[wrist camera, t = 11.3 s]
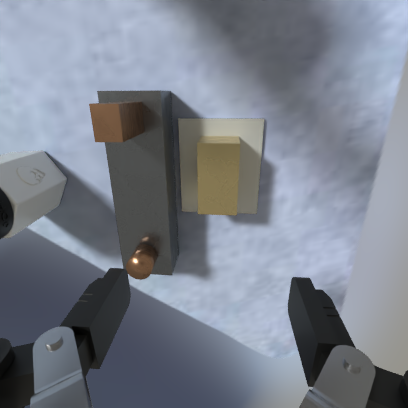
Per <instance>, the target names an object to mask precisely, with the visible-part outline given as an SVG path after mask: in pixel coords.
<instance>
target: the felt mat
mask: <svg viewBox="0 0 408 408" xmlns="http://www.w3.org/2000/svg"><path fill="white" fill-rule="evenodd" d="M178 127H179V151H180V176H181V200H182V212H198V178H197V142H198V141H199V139H200V138H201V136H239V140H240V160H239V180H238V200H237V213H244V214H257V205H258V192H259V180H260V167H261V154H262V141H263V129H264V119H203V118H179V119H178Z"/></svg>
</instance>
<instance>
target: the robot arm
mask: <svg viewBox="0 0 408 408" xmlns="http://www.w3.org/2000/svg"><path fill="white" fill-rule="evenodd" d="M129 303H130V287H129V280H128V273H127V270H126V269H119V268H110V269H109V270H108V271H107V273H106V275H105V276H104V278H98V279H97V280H95V281H94V282H93V283H91V284H90V285H89V286H88V288H87V289H86V290H85V292H84V293H83V295H82V296H81V297H80V298H79V301H78V302H77V303H76V304H75V305H74V307H73V308H72V310H71V311H70V312H69V314H68V315H67V317H66V318H65V319H64V321H63V322H62V324H61V325H60V326H59V327H57V328H53V329H51V330H49V331H47V332H45V333H44V334H42V335H41V336H40V337H39V338H38V339H37V341H36V342H35V343H30V344H26V345H21V346H16V347H12V346H11V343H10V341H9V340H7V339H3V338H0V408H24V407H25V406H26V405H30V407H31V408H93V407H92V403H91V398H90V393H89V389H88V385H87V380H86V375H87V373H88V371H89V369H90V368H93V369H100V367H101V364H102V362H103V360H104V358H105V356H106V354H107V352H108V349H109V347H110V345H111V343H112V341H113V338H114V336H115V334H116V332H117V330H118V328H119V326H120V323H121V321H122V319H123V317H124V315H125V312H126V311H127V308H128V306H129ZM288 313H289V318H290V322H291V325H292V329H293V333H294V336H295V340H296V344H297V347H298V351H299V354H300V358H301V361H302V366H303V369H304V373H305V377H306V380H307V384H308V386H309V387H313V389H312V390H309V391H308V392H307V394H306V396H305V398H304V399H303V401H302V403H301V405H300V407H299V408H408V371H406V373H405V374H404V376H401V375H398V374H396V373H392V372H390V371H387V370H384V369H381V368H379V367H377V366H374V365H373V363H372V361H371V360H370V359H369V358H368V357H367V356H366V355H365V354H364V353H363V352H361V351H360V350H358V349H356V348H355V346H354V344H353V342H352V340H351V338H350V336H349V334H348V332H347V330H346V328H345V326H344V324H343V322H342V320H341V318H340V317H339V314H338V312H337V310H336V308H335V306H334V304H333V302H332V299H331V298H330V297H329V296H328V295H327V294H326V293H325V292H324V291H323V290H316V289H315V288H314V286H313V284H312V281H311V279H310V278H301V277H293V278H292V281H291V287H290V294H289V300H288Z"/></svg>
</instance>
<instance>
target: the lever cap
mask: <svg viewBox="0 0 408 408" xmlns="http://www.w3.org/2000/svg"><path fill="white" fill-rule="evenodd" d="M239 160H240V140H239V136H201V138H200V139H199V141H198V142H197V178H198V214H212V215H237V200H238V180H239Z"/></svg>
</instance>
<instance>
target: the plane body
mask: <svg viewBox="0 0 408 408" xmlns="http://www.w3.org/2000/svg"><path fill="white" fill-rule="evenodd" d="M97 92H98V99H99V103H95V104H89V106H90V112H91V118H92V124H93V131H94V137H95V142H105V146H106V153H107V160H108V166H109V173H110V180H111V187H112V193H113V200H114V207H115V214H116V221H117V227H118V234H119V241H120V248H121V254H122V261H123V268H124V269H126V270H127V273H128V274H129V275H130V276H131V277H133V278H135V279H146V278H147V277H149V275H150V274H159V275H172V274H173V271H174V268H175V264H176V261H177V258H178V255H179V247H178V227H177V207H176V187H175V166H174V146H173V126H172V106H171V91H97Z"/></svg>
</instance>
